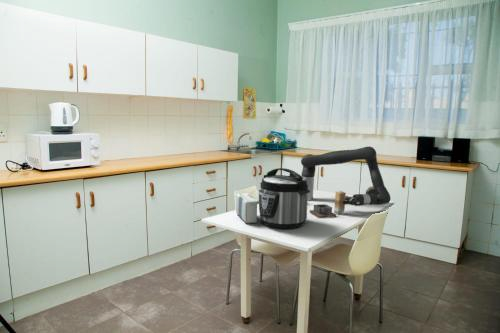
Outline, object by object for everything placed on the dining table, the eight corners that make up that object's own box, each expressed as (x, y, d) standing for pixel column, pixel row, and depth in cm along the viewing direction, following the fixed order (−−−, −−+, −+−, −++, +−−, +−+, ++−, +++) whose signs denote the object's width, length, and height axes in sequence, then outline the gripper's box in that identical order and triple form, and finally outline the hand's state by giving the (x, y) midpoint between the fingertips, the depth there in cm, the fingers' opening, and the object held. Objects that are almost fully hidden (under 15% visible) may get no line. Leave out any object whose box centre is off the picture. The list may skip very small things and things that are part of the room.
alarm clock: (380, 202, 260) (382, 180, 258) (382, 204, 255) (384, 182, 253) (364, 201, 262) (366, 179, 259) (366, 203, 256) (368, 181, 254)
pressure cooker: (253, 215, 218) (254, 164, 213) (297, 214, 223) (300, 164, 218) (262, 232, 189) (265, 173, 184) (313, 230, 193) (317, 173, 189)
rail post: (337, 214, 225) (339, 193, 223) (334, 212, 229) (335, 191, 227) (344, 214, 226) (345, 192, 224) (340, 212, 231) (341, 191, 228)
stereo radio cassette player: (235, 214, 220) (235, 182, 217) (247, 213, 223) (248, 182, 219) (244, 224, 200) (245, 189, 197) (258, 223, 203) (259, 189, 200)
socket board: (318, 218, 217) (318, 209, 216) (309, 212, 228) (309, 204, 227) (335, 216, 220) (336, 208, 220) (326, 211, 232) (326, 203, 231)
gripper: (355, 191, 237) (333, 192, 233) (368, 196, 224) (345, 197, 219) (354, 202, 239) (333, 203, 234) (367, 208, 225) (345, 209, 220)
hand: (339, 200), depth 226 cm, fingers open, 8 cm apart
